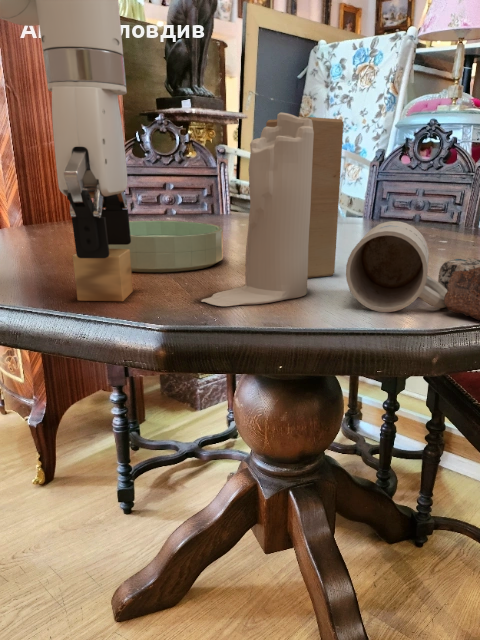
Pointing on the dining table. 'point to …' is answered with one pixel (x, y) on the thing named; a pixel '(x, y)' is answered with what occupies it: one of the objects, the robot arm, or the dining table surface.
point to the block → (104, 277)
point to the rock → (456, 268)
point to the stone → (464, 293)
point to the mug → (392, 269)
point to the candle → (277, 215)
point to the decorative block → (323, 194)
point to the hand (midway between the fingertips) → (106, 250)
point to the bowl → (173, 246)
